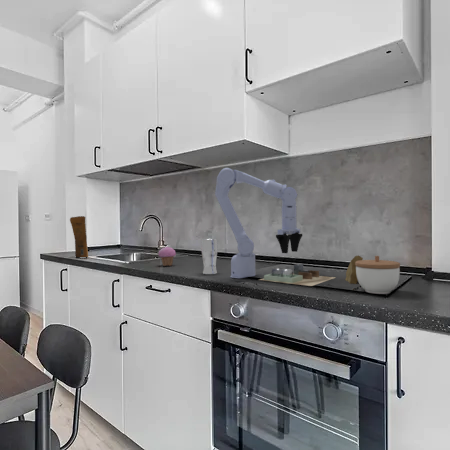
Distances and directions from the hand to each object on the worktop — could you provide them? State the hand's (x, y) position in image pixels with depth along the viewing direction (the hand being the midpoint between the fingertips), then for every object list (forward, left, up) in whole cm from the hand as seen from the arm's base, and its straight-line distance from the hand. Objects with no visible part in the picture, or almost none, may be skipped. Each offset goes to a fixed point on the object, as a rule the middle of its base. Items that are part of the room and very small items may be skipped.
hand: (289, 252), depth 132 cm
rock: (+24, 0, -10) cm, 26 cm away
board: (+7, -6, -10) cm, 13 cm away
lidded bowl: (+35, -8, -10) cm, 37 cm away
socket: (+9, -2, -10) cm, 13 cm away
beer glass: (-34, -10, -10) cm, 37 cm away
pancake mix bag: (-155, -9, -10) cm, 155 cm away
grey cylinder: (+3, -11, -8) cm, 14 cm away
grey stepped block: (+6, -2, -9) cm, 11 cm away
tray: (+4, -11, -10) cm, 15 cm away
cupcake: (-70, -4, -10) cm, 71 cm away
